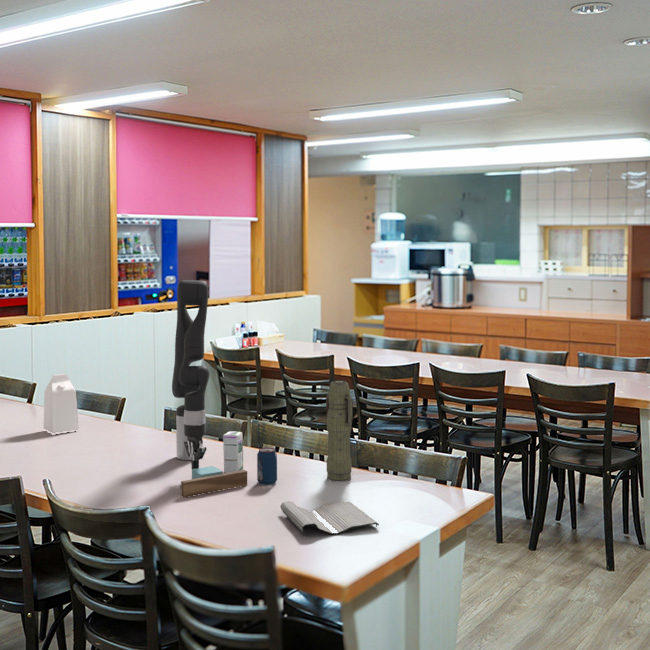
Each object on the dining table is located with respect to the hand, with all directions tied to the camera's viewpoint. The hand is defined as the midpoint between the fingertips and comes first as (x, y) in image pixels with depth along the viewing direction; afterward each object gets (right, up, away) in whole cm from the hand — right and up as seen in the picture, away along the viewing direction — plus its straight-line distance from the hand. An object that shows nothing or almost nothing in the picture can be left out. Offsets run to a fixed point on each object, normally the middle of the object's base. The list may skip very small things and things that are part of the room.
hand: (195, 470), depth 279 cm
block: (+5, -5, -7) cm, 10 cm away
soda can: (+26, -4, -3) cm, 26 cm away
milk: (-74, +3, +78) cm, 108 cm away
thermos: (+51, -4, +3) cm, 51 cm away
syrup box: (+12, -3, +12) cm, 17 cm away
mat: (+47, -8, -43) cm, 64 cm away
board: (+9, -5, -12) cm, 16 cm away
